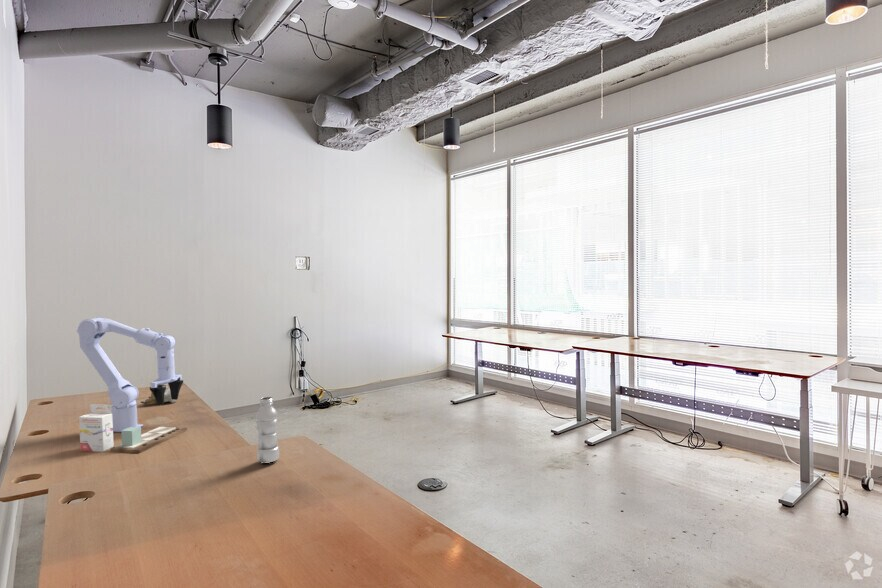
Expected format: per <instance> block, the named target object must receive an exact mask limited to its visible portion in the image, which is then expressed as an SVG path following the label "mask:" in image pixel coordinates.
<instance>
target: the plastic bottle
mask: <svg viewBox="0 0 882 588" xmlns="http://www.w3.org/2000/svg"><path fill="white" fill-rule="evenodd" d="M273 398H274V397H272V396H266V397H261V398H260V399H259V406H260V407H259V409H258V411H256V414H255V422H256V427H257V435H258V436H257V437H258V440H257V441H258V442H257V450H256V457H257V462H259V463H260V462H263V463H265V462H272V461H275V460H277V461H278V460H279V457H280V448H279V444H278V437H277V436H278V435H277V426H278V417H279V415H278V414H279V413H278V411H277V410H276V408H275V407H274V406H273V405H274V400H273ZM275 462H276V461H275Z"/></svg>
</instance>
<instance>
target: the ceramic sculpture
mask: <svg viewBox="0 0 882 588" xmlns="http://www.w3.org/2000/svg"><path fill="white" fill-rule="evenodd" d="M161 386H162V387H166V390H165V394H164V404H165V403H168V402H169V403H171V404H172V403H177V401H178V399H177V400H172V398H171V392H170V387H169V385H167V384H164V385H161ZM179 396H180V394H179V395H178V397H179ZM140 403H141V404H145V405H154V404H157V402H156V399H155V397H154V395H153V393H152V392H151V394H150V396H148V397H147V399H145V400H143V401H140Z"/></svg>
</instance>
